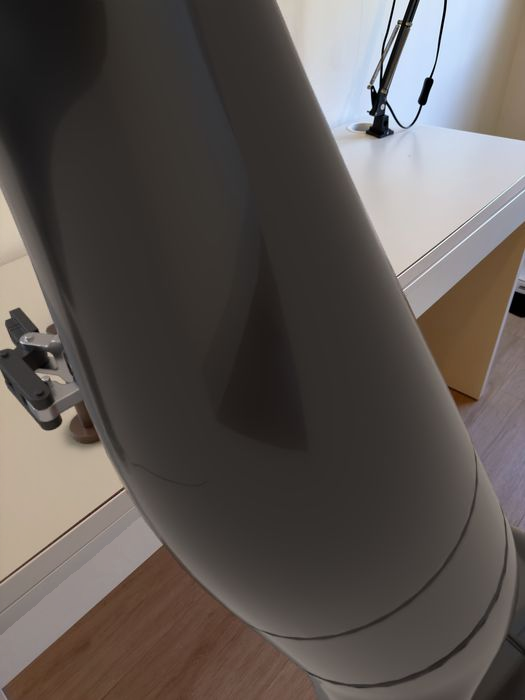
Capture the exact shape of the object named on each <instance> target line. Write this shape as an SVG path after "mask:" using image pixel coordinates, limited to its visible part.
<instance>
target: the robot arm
mask: <svg viewBox="0 0 525 700" xmlns="http://www.w3.org/2000/svg"><path fill="white" fill-rule="evenodd" d="M0 191H1V194H2V196H3V198H4V200H5V203H6V205H7V207H8V209H9V212H10V215H11V216H12V219H13V221H14V225H15V226H16V228H17V231H18V234H19V236H20V238H21V241H22V243H23V246H24V248H25V251H26V254H27V255H28V258H29V260H30V263H31V266H32V269H33V272H34V274H35V277H36V280H37V282H38V284H39V287H40V290H41V293H42V296H43V298H44V301H45V304H46V306H47V309H48V312H49V315H50V317H51V320H52V324H54V326H55V328H56V331H57V335H53V334H47V333H46V332H44V333H43V332H40V329H39V328H38V327H37V325H36V324H35V323H34V322H33V321H32V320H31V318H30V317H29V316H28V315H27V314H26V313H25V312H24V311H23V309H21V307H17V308H13V309H11V310H9V311H8V313H9V316H10V318H8V319H5V320H4V326H5V329H6V331H7V333H8V335H9V338H10V341H11V342H12V343H13V345H14V346H15V348H14V349H13V348H3V349H1V350H0V373H1V374H2V375H1V376H3V379H4V383H5V385H6V387H7V390H8V391H9V392H10V393H11V394H12V395H13V396H14V397H15V398H16V400H17V401H18V402H19V404H20V405H21V406H22V407H23V408H24V410H26V412H27V413H28V414H29V415H30V416H31V418H32V419H33V420H34V421H35V422H36V423H37V424H38V425H39V427H40V428H41V429H42V430H43V431H46V432H49V431H54V430H56V429H59V427H60V426H61V425H62V424H63V417H62V415H61V414H62V413H64V412H66V411H68V410H70V409H71V408H73V407H74V406H75V405H77V404H78V403H80V402H82V401H84V403H85V405H86V408H87V410H88V413H89V415H90V417H91V420H92V422H93V424H94V427H95V429H96V431H97V433H98V436H99V438H100V443H101V445H102V447H103V449H104V451H105V453H106V456H107V459H108V460H109V462H110V464H111V466H112V468H113V469H114V472H115V474H116V475H117V478H118V480H119V481H120V483H121V485H122V487H123V489H124V491H125V492H126V494H127V496H128V497H129V499H130V500H131V502H132V504H133V505H134V507H135V508H136V510H137V512H138V513H139V514H140V516H141V518H142V520H143V521H144V523H145V524H146V525H147V527H149V529H150V530H151V531H152V533H153V534H154V535H155V536H156V538H157V539H158V540H159V542H160V543H161V544H162V545H163V547H164V548H165V549H166V551H167V552H168V553H169V554H170V555H171V557H172V558H173V559H174V561H175V562H176V563H177V564H178V566H179V567H180V569H182V570H183V571H184V572H185V573H186V574H187V575H188V576H189V577H190V578H191V579H192V581H194V582H195V583H196V584H197V586H198V587H200V588H201V589H202V590H203V591H204V592H205V593H206V594H208V595H209V596H210V597H211V598H212V599H213V600H215V601H216V602H217V603H218V604H220V605H221V606H222V607H223V608H225V610H227V611H228V612H230V614H232V615H233V616H235V618H237V619H238V620H240V622H242V623H243V624H244V625H245V626H247V627H248V628H249V629H250V630H252V631H253V632H254V633H255V634H257V635H258V636H259V637H261V639H262V640H264V641H265V642H267V643H268V644H269V645H270V646H271V647H273V648H274V649H275V650H277V652H279V653H280V654H281V655H283V656H284V657H285V658H286V659H288V660H289V661H290V662H291V663H293V664H294V665H295V666H296V667H298V668H299V669H300V670H301V671H302V672H303V673H304V674H305V675H306V677H308V678H309V680H310V683H311V685H312V689H313V691H314V694H315V697H316V700H525V530H524V529H522V528H520V527H518V526H516V525H514V524H511V523H509V521H508V519H507V516H506V513H505V511H504V508H503V506H502V504H501V502H500V499H499V497H498V495H497V493H496V490H495V487H494V485H493V484H492V482H491V479H490V477H489V475H488V472H487V470H486V468H485V466H484V463H483V461H482V459H481V456H480V454H479V452H478V449H477V447H476V445H475V443H474V441H473V439H472V436H471V434H470V432H469V430H468V428H467V426H466V424H465V421H464V419H463V416H462V414H461V412H460V410H459V408H458V406H457V403H456V401H455V399H454V397H453V395H452V393H451V390H450V388H449V387H448V386H449V385H448V384H447V382H446V380H445V378H444V376H443V373H442V371H441V369H440V366H439V365H438V363H437V360H436V358H435V356H434V354H433V351H432V350H431V347H430V346H429V343H428V340H427V339H426V337H425V335H424V332H423V330H422V328H421V326H420V324H419V322H418V320H417V317H416V315H415V313H414V311H413V309H412V307H411V305H410V303H409V301H408V298H407V296H406V294H405V291H404V289H403V287H402V285H401V283H400V281H399V279H398V276H397V274H396V272H395V270H394V268H393V265H392V263H391V261H390V259H389V257H388V255H387V253H386V250H385V248H384V246H383V244H382V241H381V239H380V237H379V235H378V233H377V230H376V228H375V226H374V224H373V221H372V220H371V217H370V215H369V213H368V210H367V208H366V206H365V204H364V202H363V199H362V197H361V195H360V193H359V190H358V188H357V187H356V184H355V182H354V179H353V178H352V176H351V173H350V170H349V168H348V165H347V164H346V162H345V160H344V157H343V154H342V153H341V150H340V148H339V145H338V143H337V141H336V139H335V137H334V134H333V132H332V129H331V127H330V125H329V122H328V120H327V118H326V116H325V113H324V111H323V109H322V106H321V104H320V102H319V100H318V96H317V95H316V93H315V91H314V88H313V86H312V83H311V81H310V78H309V76H308V74H307V71H306V69H305V66H304V64H303V62H302V59H301V57H300V54H299V52H298V50H297V47H296V45H295V43H294V40H293V37H292V35H291V32H290V30H289V28H288V25H287V23H286V21H285V17H284V15H283V14H282V10H281V9H280V6H279V4H278V0H0ZM48 353H49V354H51V355H52V356H49V354H48ZM39 374H42V376H41V377H40V376H39ZM50 376H57V377H59V378H61V380H63V381H64V383H60V382H59V381H57V380H52V379H51V377H50ZM65 382H68V384H66V383H65Z"/></svg>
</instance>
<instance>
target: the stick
mask: <svg viewBox="0 0 525 700" xmlns="http://www.w3.org/2000/svg"><path fill="white" fill-rule="evenodd" d="M45 334H53V335H57V331H56V328H55V326H54V323H51V324H49V325H48V326H47V327H46V328H45ZM64 384H68V382H65V381H64ZM73 407H74V409H75V412H76V415H74V416H73V417H72V419H71V420H70V422H69V428H68V429H69V431H70V434H71V436H72V439H74V440H75V441H76V442H79V443H82V444H90V443H94V442H97V441H99V440H100V438H99V436H98V433H97V431H96V429H95V427H94V424H93V422H92V420H91V417H90V415H89V413H88V410H87V408H86V405H85V403H84V401H82V402H80V403H78V404H77V405H75V406H73ZM100 441H101V440H100Z"/></svg>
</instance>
